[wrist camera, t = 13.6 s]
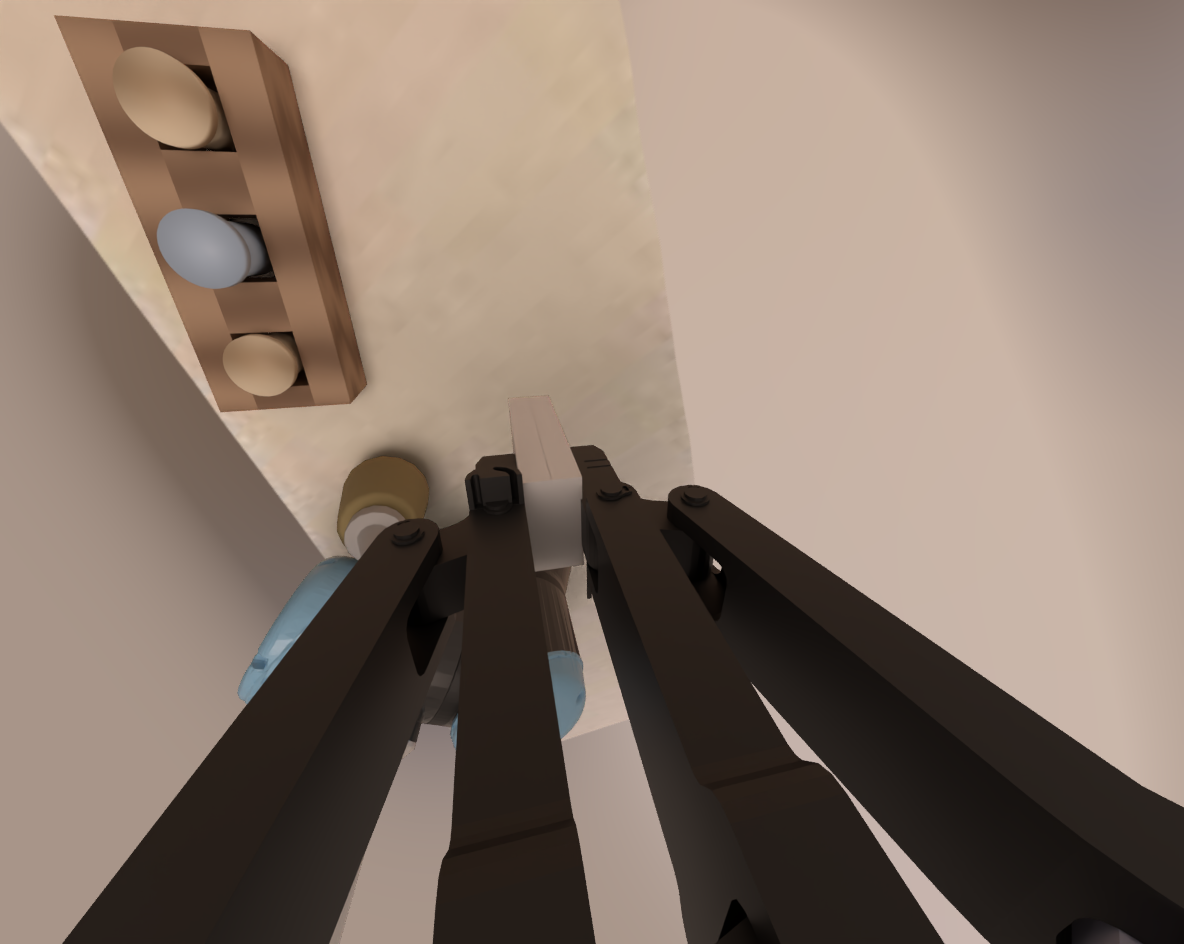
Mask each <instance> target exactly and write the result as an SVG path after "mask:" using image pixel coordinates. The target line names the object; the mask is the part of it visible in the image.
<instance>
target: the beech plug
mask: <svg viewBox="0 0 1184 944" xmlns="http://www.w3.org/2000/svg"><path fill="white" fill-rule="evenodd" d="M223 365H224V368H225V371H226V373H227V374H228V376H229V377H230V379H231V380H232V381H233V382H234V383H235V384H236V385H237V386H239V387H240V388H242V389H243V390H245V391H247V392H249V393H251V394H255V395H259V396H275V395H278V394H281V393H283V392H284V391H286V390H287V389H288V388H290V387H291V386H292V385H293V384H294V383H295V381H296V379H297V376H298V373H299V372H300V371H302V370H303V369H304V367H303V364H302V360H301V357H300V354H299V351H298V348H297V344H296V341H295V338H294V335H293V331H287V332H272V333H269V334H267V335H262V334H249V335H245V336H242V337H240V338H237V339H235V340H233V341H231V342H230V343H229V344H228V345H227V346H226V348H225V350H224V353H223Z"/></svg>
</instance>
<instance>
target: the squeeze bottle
mask: <svg viewBox="0 0 1184 944" xmlns="http://www.w3.org/2000/svg"><path fill="white" fill-rule="evenodd" d="M428 498H429V487H428V484H427V481H426V479H425V476H424V475H423V474H422V473H421V472H420V471H419V469H418V468H417V467H416V466H415V465H414V464H411V463H409V462H407V461H405V460H403V459H401V458H397V457H386V456H380V457H377V458H373V459H369V460H365V461H364V462H362V463H361V464H360V465H358V466H357V467H356V468H354V469H353V470H352V471H351V472H350V474H349V476H348V478H347V479H346V481H345V483H344V487H343V492H342V497H341V502H340V508H339V513H338V521H337V532H338V534H339V537H340V539H341V541H342V543H343V545H345V546H346V548H347V551H348V553H350V554H351V555H352V556H353V557H354V558H355V559H357V560H359V559H360V558H361V556H362V555H363V554H364V552H365V551H366V550H367V549H368V547H369V546H370V545H371V543H372V542H373V541H374V539H375V538H376V537H377V536H378V534H380V533H381V532H382V531H383V530H384V529H385V528H387V527H389V526H390V525H392V524H394V523H396V522H399V521H404V520H406V519H417V518H421V519H423V518H424V515H425V511H426V508H427V505H428Z"/></svg>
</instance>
